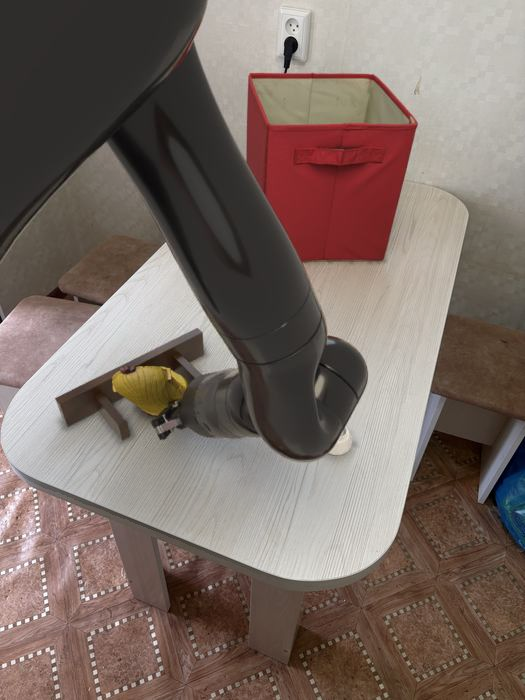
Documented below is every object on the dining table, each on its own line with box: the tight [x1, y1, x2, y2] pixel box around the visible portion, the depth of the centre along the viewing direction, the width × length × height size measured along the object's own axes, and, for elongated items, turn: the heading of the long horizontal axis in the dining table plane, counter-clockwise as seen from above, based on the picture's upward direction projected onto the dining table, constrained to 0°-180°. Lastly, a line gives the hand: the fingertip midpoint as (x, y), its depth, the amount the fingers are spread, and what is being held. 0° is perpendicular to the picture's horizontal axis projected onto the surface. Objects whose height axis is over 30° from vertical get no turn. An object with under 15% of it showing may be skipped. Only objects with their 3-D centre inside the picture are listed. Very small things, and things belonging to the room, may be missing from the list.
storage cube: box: [245, 72, 419, 263], centre depth 105 cm, size 32×28×29 cm
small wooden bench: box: [54, 327, 205, 441], centre depth 75 cm, size 24×8×5 cm, turn 131°
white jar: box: [328, 426, 353, 456], centre depth 71 cm, size 5×3×5 cm
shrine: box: [112, 365, 188, 418], centre depth 70 cm, size 12×8×15 cm
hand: (174, 408), depth 71 cm, fingers closed
